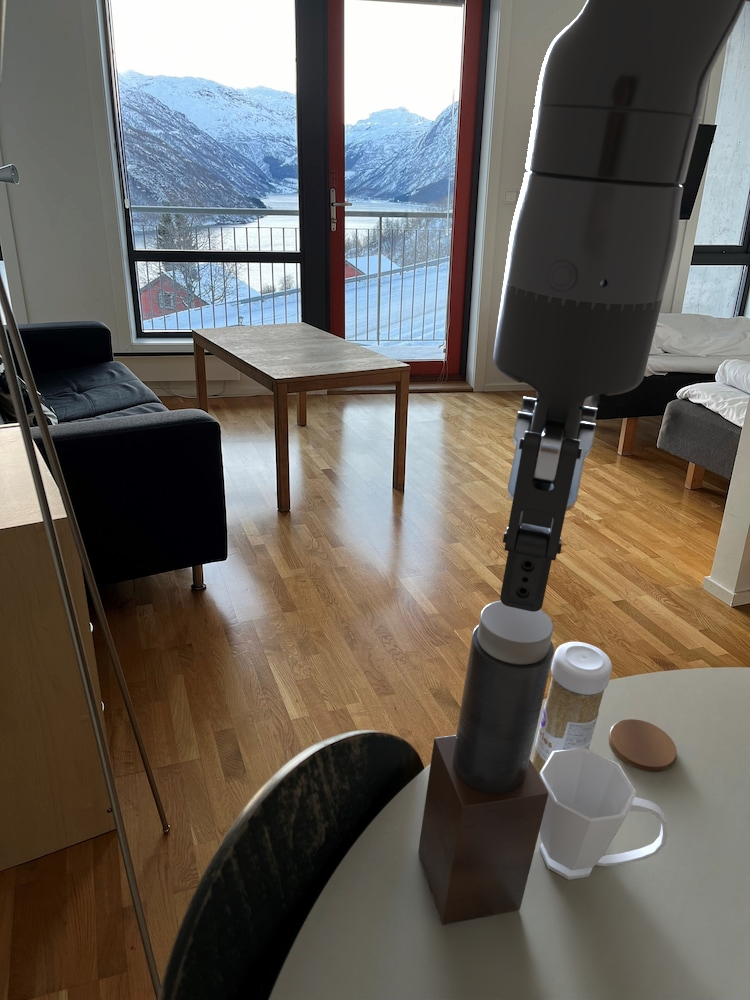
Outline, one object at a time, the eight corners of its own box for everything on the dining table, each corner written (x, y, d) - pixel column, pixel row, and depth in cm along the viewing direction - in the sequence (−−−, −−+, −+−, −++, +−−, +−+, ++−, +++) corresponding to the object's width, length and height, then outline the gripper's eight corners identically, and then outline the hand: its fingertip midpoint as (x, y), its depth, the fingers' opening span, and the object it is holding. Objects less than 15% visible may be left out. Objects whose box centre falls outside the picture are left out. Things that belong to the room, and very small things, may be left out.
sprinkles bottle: (520, 760, 66) (546, 640, 60) (568, 756, 67) (598, 638, 61) (538, 801, 62) (568, 677, 56) (588, 797, 63) (623, 674, 57)
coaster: (651, 720, 72) (653, 715, 72) (688, 766, 67) (690, 762, 67) (597, 727, 71) (598, 722, 71) (630, 776, 66) (631, 771, 65)
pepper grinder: (509, 733, 53) (537, 594, 47) (538, 788, 48) (573, 642, 43) (442, 742, 52) (464, 600, 46) (467, 799, 47) (493, 650, 42)
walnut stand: (489, 839, 59) (512, 727, 53) (520, 910, 54) (549, 793, 48) (417, 852, 57) (434, 737, 52) (442, 925, 52) (462, 807, 47)
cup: (523, 809, 62) (539, 738, 58) (646, 835, 60) (671, 763, 56) (521, 884, 55) (540, 810, 52) (659, 915, 54) (687, 840, 50)
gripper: (675, 321, 28) (590, 654, 36) (657, 268, 41) (596, 523, 48) (483, 297, 30) (440, 620, 37) (521, 252, 42) (483, 502, 50)
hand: (528, 565), depth 43 cm, fingers open, 8 cm apart
